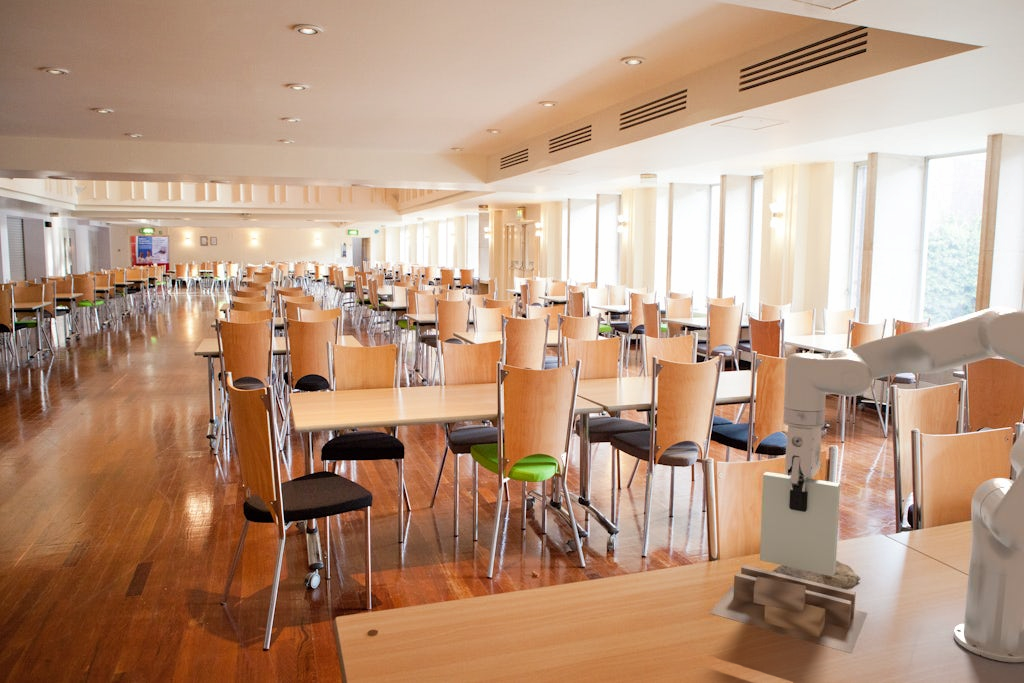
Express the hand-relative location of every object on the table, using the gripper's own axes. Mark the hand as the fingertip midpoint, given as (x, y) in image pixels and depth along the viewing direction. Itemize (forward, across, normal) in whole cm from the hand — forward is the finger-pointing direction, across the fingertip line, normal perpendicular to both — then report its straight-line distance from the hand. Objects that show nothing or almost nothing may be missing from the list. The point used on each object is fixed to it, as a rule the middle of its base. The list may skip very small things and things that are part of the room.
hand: (799, 507), depth 148 cm
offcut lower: (+21, -7, -1) cm, 22 cm away
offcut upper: (+17, -7, +2) cm, 19 cm away
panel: (+12, 0, 0) cm, 12 cm away
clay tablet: (+23, +17, +1) cm, 28 cm away
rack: (+22, -3, +1) cm, 23 cm away
